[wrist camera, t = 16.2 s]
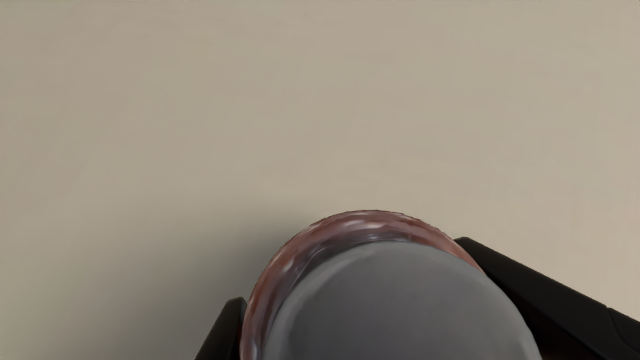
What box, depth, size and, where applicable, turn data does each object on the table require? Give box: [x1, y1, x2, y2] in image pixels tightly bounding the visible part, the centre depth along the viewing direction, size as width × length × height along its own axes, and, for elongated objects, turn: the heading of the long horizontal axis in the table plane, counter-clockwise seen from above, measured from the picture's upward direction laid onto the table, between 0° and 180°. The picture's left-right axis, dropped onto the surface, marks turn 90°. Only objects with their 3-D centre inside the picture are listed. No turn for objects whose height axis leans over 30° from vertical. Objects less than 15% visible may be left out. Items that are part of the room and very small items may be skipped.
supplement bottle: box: [240, 210, 542, 360], centre depth 10 cm, size 6×6×11 cm
